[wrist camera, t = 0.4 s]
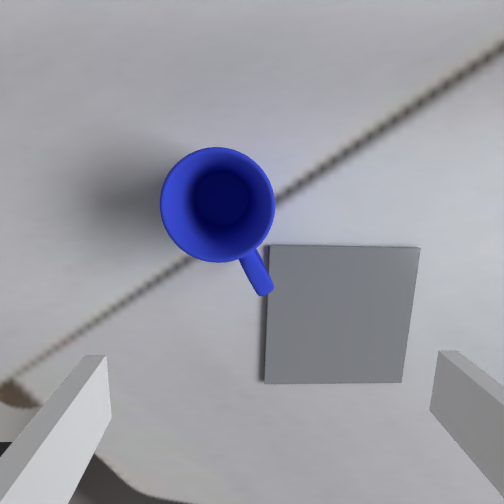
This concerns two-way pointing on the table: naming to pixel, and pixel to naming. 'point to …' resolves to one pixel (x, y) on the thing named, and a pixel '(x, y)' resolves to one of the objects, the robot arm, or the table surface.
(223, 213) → the mug
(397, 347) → the coaster
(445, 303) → the table surface
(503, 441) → the robot arm
